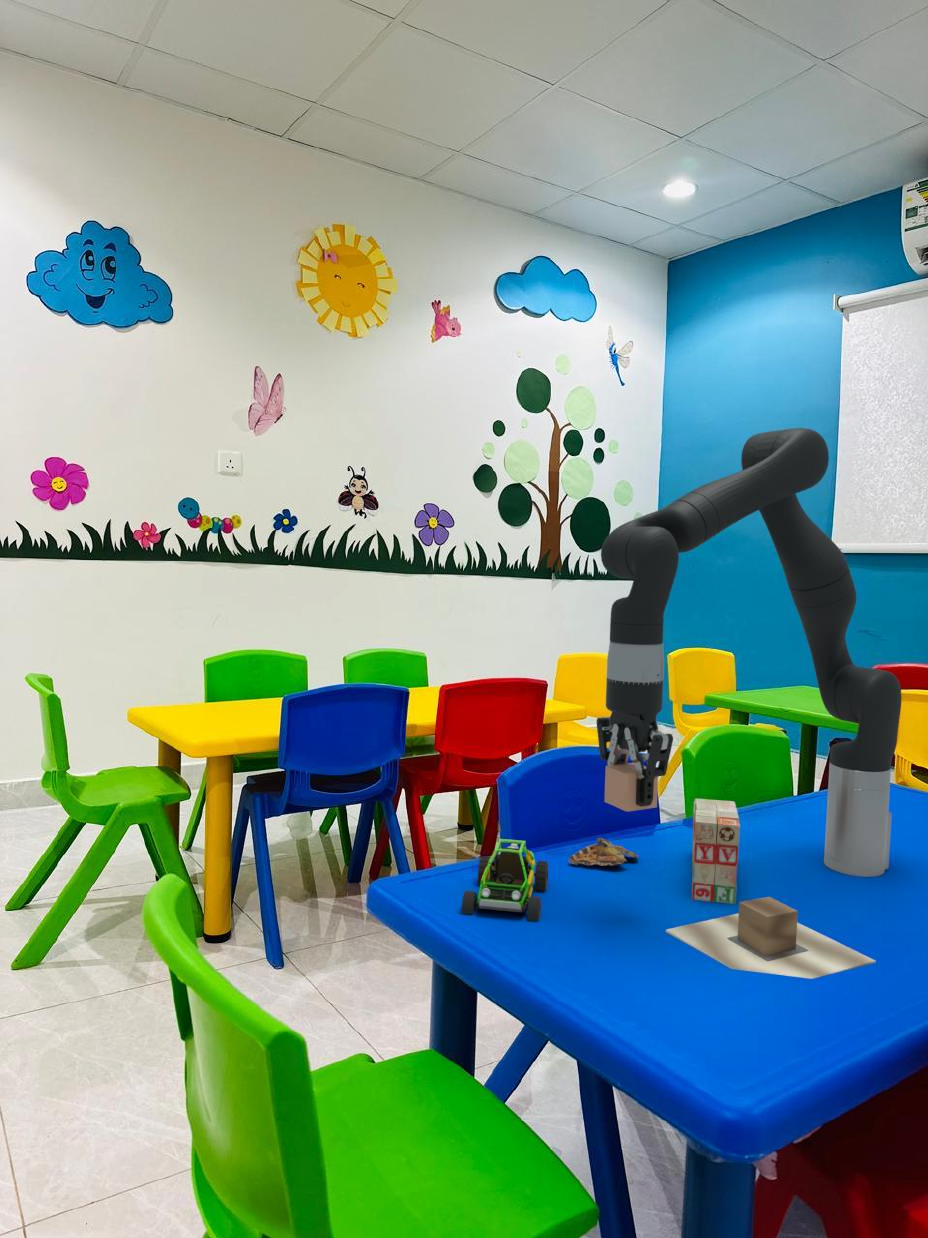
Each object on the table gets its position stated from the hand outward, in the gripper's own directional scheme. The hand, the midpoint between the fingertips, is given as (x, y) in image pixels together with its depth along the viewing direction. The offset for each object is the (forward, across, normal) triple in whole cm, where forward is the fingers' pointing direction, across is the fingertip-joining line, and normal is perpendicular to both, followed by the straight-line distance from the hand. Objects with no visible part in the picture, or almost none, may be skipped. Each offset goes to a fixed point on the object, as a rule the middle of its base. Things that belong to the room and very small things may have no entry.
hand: (630, 799), depth 122 cm
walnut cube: (+16, -15, -11) cm, 25 cm away
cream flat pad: (+17, -15, -11) cm, 25 cm away
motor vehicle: (+18, +14, +11) cm, 25 cm away
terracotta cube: (+1, 0, 0) cm, 1 cm away
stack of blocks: (+18, +8, -23) cm, 30 cm away
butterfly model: (+19, +18, -11) cm, 28 cm away
